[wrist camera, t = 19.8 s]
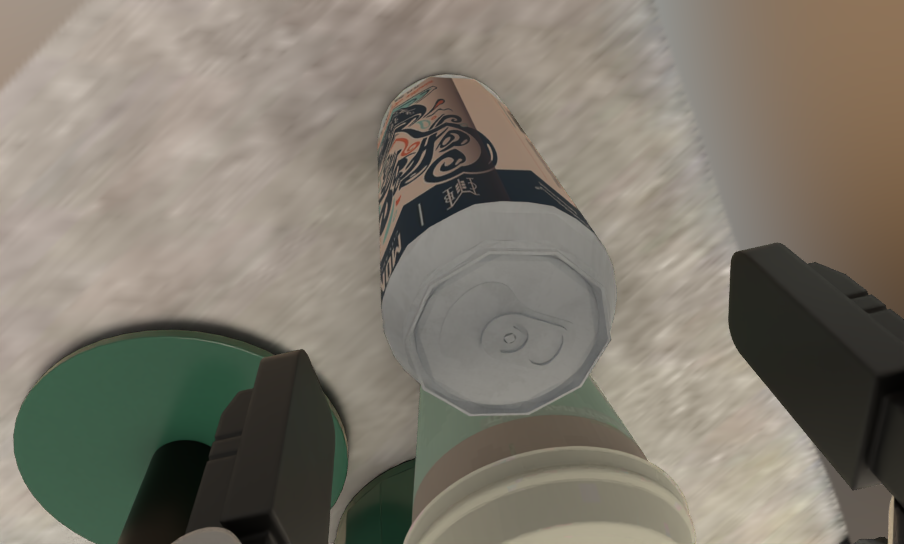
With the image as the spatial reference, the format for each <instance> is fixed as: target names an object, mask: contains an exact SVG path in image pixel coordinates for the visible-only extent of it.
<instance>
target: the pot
mask: <svg viewBox="0 0 904 544" xmlns="http://www.w3.org/2000/svg"><path fill="white" fill-rule="evenodd" d="M415 462H416V459H413V460H411V461H408V462H405V463H403V464H400V465H398V466H396V467H394V468H392V469H390V470H388V471H386V472H385V473H383V474H382V475H380V476H378V477H377V478H375V479H374V480H373V481H371V482H370V483H369V484H368V485H366V486H365V487H364V488H363V489H362V490H361V491H360V492H359V493H358V494H357V495H356V496H355V497H354V498H353V499H352V501H351V502H350V504H349V505H348V506H347V508H346V509H345V511H344V513H343V515H342V517H341V519H340V522H339V526H338V529H337V536H336V539H335V541H334V544H403V543H404V540H405V538H406V535H407V533H408V531H409V529H410V527H411V526H412V508H413V493H414V477H415Z"/></svg>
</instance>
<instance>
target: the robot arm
mask: <svg viewBox="0 0 904 544" xmlns="http://www.w3.org/2000/svg"><path fill="white" fill-rule="evenodd" d="M728 322H729V329H730V333H731V337H732V340H733V342H734V344H735V346H736V348H737V350H738V351H739V353H740V354H741V355H742V357H743V358H744V359H745V360H746V361H747V363H748V364H749V365H750V366H751V367H752V369H753V370H754V371H755V372H756V374H757V375H758V376H759V377H760V378H761V380H762V381H763V382H764V383H765V384H766V386H767V387H768V388H769V389H770V391H771V392H772V393H773V394H774V395H775V397H776V398H777V399H778V400H779V401H780V403H781V404H782V405H783V406H784V407H785V409H786V410H787V411H788V412H789V414H790V415H791V416H792V417H793V418H794V420H795V421H796V422H797V423H798V424H799V426H800V427H801V428H802V429H803V431H804V432H805V433H806V434H807V435H808V437H809V438H810V439H811V440H812V441H813V443H814V444H815V445H816V446H817V448H818V449H819V450H820V451H821V452H822V454H823V455H824V456H825V457H826V458H827V460H828V461H829V462H830V463H831V464H832V466H833V467H834V468H835V469H836V471H837V472H838V473H839V474H840V475H841V477H842V478H843V479H844V480H845V481H846V483H847V484H848V485H849V486H850V487H851V489H852V490H857V489H862V488H866V487H871V486H875V485H880V484H883V485H884V486H885V487H886V488H887V490H888V491H889V492H890V493H891V494H892V498H891V502H890V507H889V523H888V544H904V319H903V318H901V317H900V316H899V315H898V314H896V313H895V312H894V311H892V310H891V309H888V310H887V309H886V305H885V304H883V303H882V302H881V301H879V300H878V299H877V298H876V297H874V296H873V295H868V293H867V291H866V290H865V289H864V288H863V287H861V286H860V285H859V284H857V283H856V282H855V281H854V280H852V279H851V278H850V277H848V276H847V275H846V274H844V273H841V272H839V271H836V270H834V269H831V268H829V267H826V266H824V265H821V264H818V263H816V262H814V263H809V264H807V263H805V262H804V261H803V260H802V259H800V258H799V257H798V256H797V255H796V254H794V253H793V252H792V251H791V250H790V249H788V248H787V247H786V246H785V245H783V244H781V243H773V244H768V245H764V246H760V247H755V248H751V249H747V250H742V251H738V252H735V253H734V254H733V256H732V259H731V268H730V292H729V316H728ZM334 454H335V429H334V423H333V418H332V414H331V411H330V408H329V406H328V403H327V401H326V398H325V396H324V393H323V391H322V388H321V386H320V383H319V381H318V379H317V376H316V374H315V371H314V369H313V366H312V364H311V361H310V359H309V357H308V355H307V353H306V352H305V351H304V350H303V349H300V350H296V351H291V352H287V353H283V354H278V355H274V356H269V357H265V358H262V359H261V361H260V364H259V368H258V372H257V376H256V380H255V384H254V388H252V389H247V390H243V391H239V392H238V393H237V394H236V396H235V397H234V398H233V400H232V401H231V402H230V403H229V405H228V406H227V407H226V409H225V410H224V411H223V413H222V414H221V417H220V420H219V424H218V427H217V430H216V434H215V442H213V443H212V447H211V450H210V453H209V461H207V463H206V466H205V470H204V473H203V476H202V480H201V483H200V486H199V489H198V493H197V496H196V499H195V503H194V506H193V509H192V512H191V516H190V519H189V522H188V526H187V529H186V532H185V535H184V536H182V537H180V538H178V539H177V540H175V541H174V542H172V543H171V544H328V535H329V521H330V508H331V494H332V481H333V467H334Z"/></svg>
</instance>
